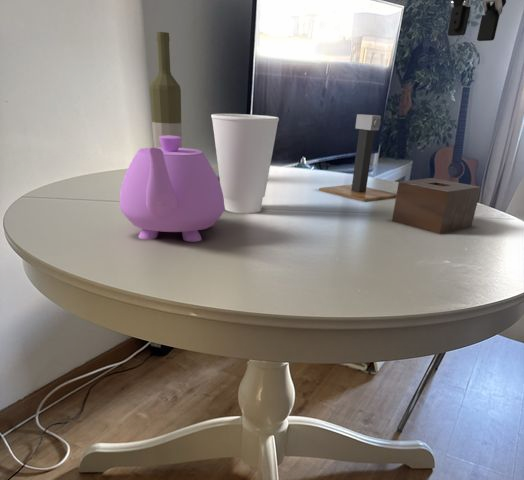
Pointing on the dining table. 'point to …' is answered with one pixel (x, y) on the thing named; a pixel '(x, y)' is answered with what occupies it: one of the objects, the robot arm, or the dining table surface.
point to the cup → (244, 158)
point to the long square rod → (364, 149)
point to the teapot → (171, 191)
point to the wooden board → (358, 193)
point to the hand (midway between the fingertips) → (471, 38)
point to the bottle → (165, 96)
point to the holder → (435, 204)
